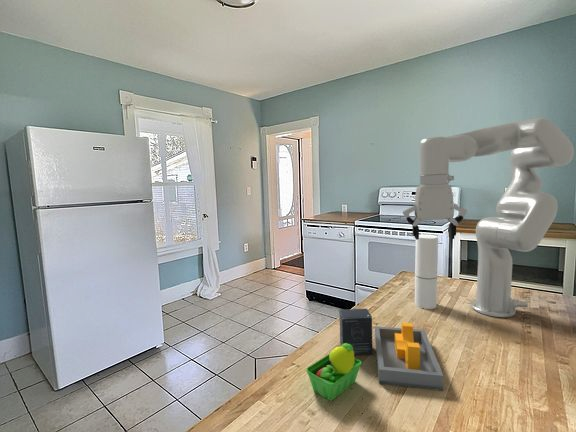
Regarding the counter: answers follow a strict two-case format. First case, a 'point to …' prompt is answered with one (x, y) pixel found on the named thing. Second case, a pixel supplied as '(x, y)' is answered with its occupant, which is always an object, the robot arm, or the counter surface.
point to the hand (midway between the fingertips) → (433, 238)
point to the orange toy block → (408, 347)
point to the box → (356, 330)
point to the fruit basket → (334, 372)
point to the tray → (395, 368)
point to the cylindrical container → (426, 271)
